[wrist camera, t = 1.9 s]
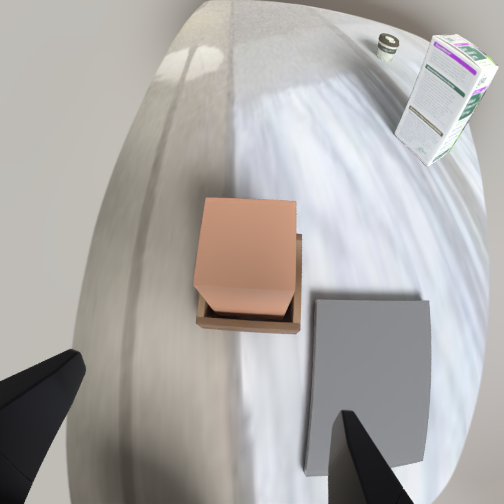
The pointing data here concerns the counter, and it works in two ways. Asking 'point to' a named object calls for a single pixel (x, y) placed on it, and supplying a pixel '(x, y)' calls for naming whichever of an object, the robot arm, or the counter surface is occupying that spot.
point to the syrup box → (444, 96)
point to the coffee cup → (387, 47)
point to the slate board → (371, 376)
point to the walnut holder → (259, 326)
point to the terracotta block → (247, 257)
